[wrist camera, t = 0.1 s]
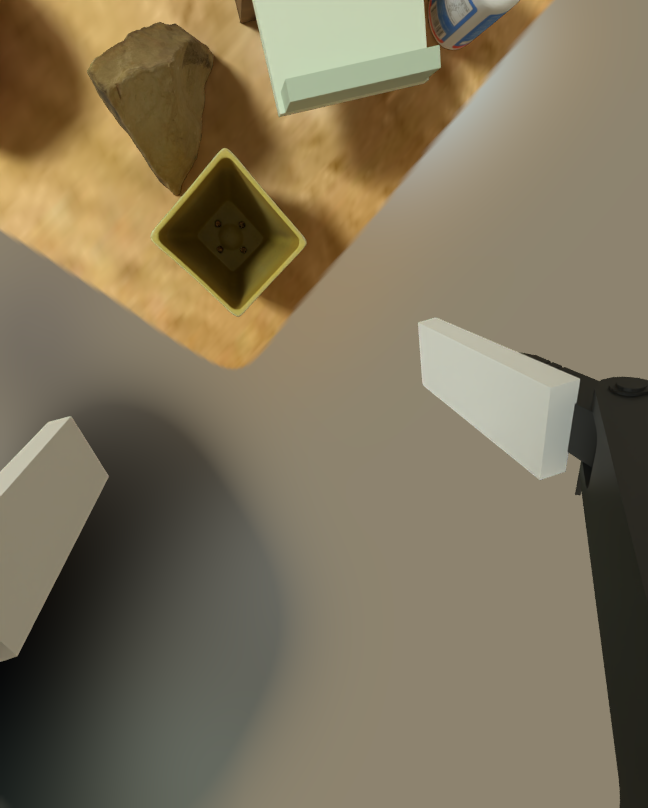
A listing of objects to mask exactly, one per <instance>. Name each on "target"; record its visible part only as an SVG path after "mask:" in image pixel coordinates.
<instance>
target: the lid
mask: <svg viewBox="0 0 648 808" xmlns="http://www.w3.org/2000/svg"><path fill="white" fill-rule="evenodd" d="M252 2H253V6H254V11H255V15H256V20H257V24H258V28H259V33H260V37H261V41H262V46H263V50H264V54H265V59H266V63H267V68H268V72H269V76H270V81H271V85H272V89H273V94H274V98H275V103H276V107H277V111H278V116H279V117H282V116H286V115H291V114H295V113H299V112H304V111H308V110H312V109H316V108H321V107H325V106H329V105H334V104H338V103H342V102H347V101H351V100H355V99H360V98H364V97H368V96H372V95H377V94H381V93H385V92H390V91H394V90H398V89H403V88H407V87H411V86H415V85H420V84H424V83H425V82H427V81H428V80H429V77H430V76H431V75H432V74H433V73H435V72H436V71H437V70H438V69H440V68H441V61H440V45H437V46H432V47H428V48H427V43H426V28H425V12H424V0H252Z"/></svg>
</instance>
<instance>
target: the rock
mask: <svg viewBox="0 0 648 808" xmlns="http://www.w3.org/2000/svg"><path fill="white" fill-rule="evenodd" d="M212 66H213V54H212V53H211V52H210V50H209V48H208V47H207V46H206V45H204V44H203V43H201V42H200V41H199V40H197V39H196V38H195V37H193V36H192V35H190V34H189V33H188V32H186V31H185V30H184V29H182V28H181V27H180V26H178V25H177V24H172V25H168V24H167V25H166V24H164V23H161V22H159V23H155V24H153V25H152V26H150V27H147V28H145V27H143V28H142V29H141V30H136V31H134V32H131V33H129V34H128V35H127V36H126V38H125V39H124V41H122V42H120V43H118V44H116V45H115V46H113V47H111V48H110V49H108V50H107V51H106V52H104V53H103V54H102V55H101V56H99V57H97V58H95V59H94V60H93V62H92V63H91V65H90V68H89V69H88V70H87V73H88V75H89V77H90V78H91V80H92V82H93V84H94V86H95V88H96V90H97V92H98V94H99V96H100V97H101V99H102V100H103V102H104V103H105V105H106V107H107V108H108V109H109V111H110V112H111V113H112V114H113V116H114V117H115V119H116V120H117V122H118V123H119V125H120V126H121V127H122V128H123V129H124V130H125V131H126V132H127V133H128V134H129V136H130V137H131V139H132V140H133V142H134V144H135V145H136V147H137V148H138V149H139V151H140V152H141V154H142V155H143V157H144V158H145V160H146V161H147V163H148V165H149V167H150V168H151V169H152V171H153V172H154V174H155V175H156V177H157V178H158V180H159V181H160V182H161V183H162V184H163V185H164V186H165V187H167V188H168V189H169V190H170V191H171V192H172V193H173V194H174V195H179V194H180V190H181V184H182V183H183V181H184V179H185V178H186V175H187V173H188V171H189V170H190V169H191V168H192V165H193V163H194V160H196V159H197V153H198V147H199V144H200V141H201V136H202V135H201V129H202V120H201V118H202V110H203V108H204V100H205V94H204V84H205V82H206V80H207V78H208V76H209V73H210V71H211V69H212Z"/></svg>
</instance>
